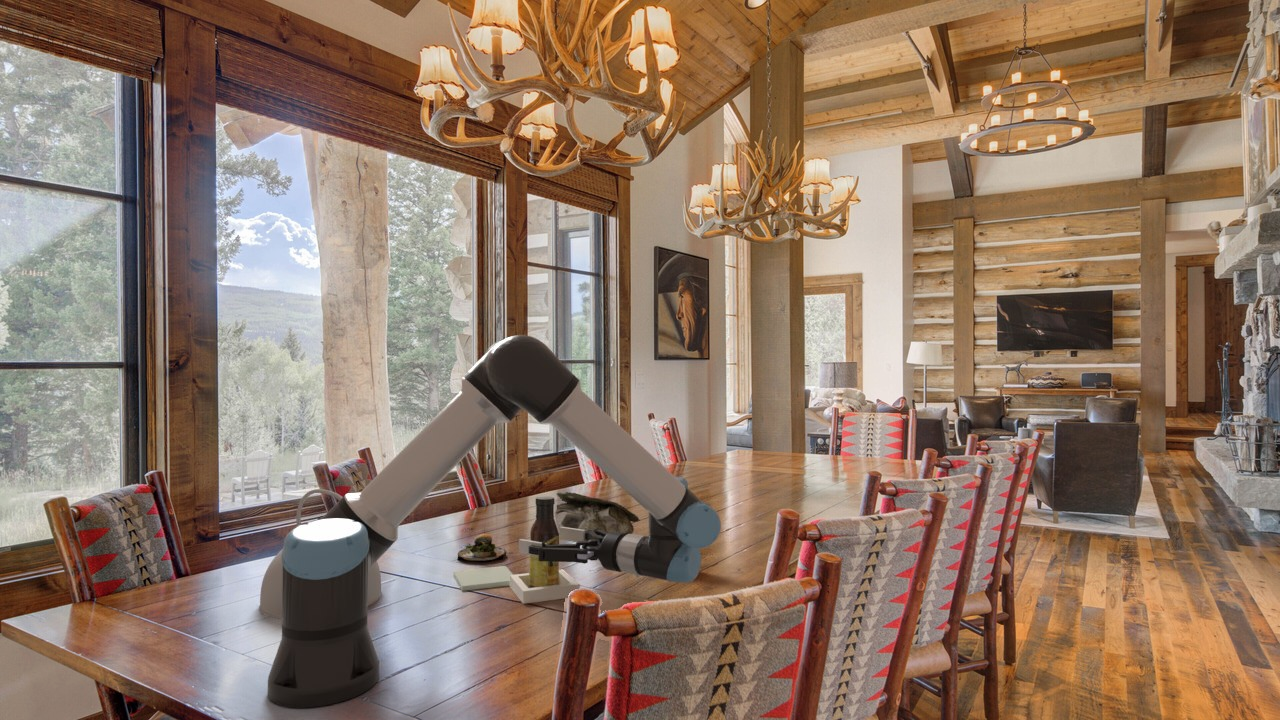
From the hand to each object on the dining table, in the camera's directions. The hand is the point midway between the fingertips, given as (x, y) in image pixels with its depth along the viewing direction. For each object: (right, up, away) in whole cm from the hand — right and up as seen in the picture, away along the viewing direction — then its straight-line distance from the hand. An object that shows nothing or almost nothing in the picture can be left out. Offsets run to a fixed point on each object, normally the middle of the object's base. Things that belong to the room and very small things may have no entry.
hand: (540, 539), depth 149 cm
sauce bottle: (+1, -11, -1) cm, 11 cm away
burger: (-18, -12, +26) cm, 34 cm away
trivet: (-14, -11, +7) cm, 19 cm away
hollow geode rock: (+8, -12, +47) cm, 49 cm away
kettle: (-43, -11, -7) cm, 45 cm away
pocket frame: (+1, -11, -1) cm, 11 cm away
